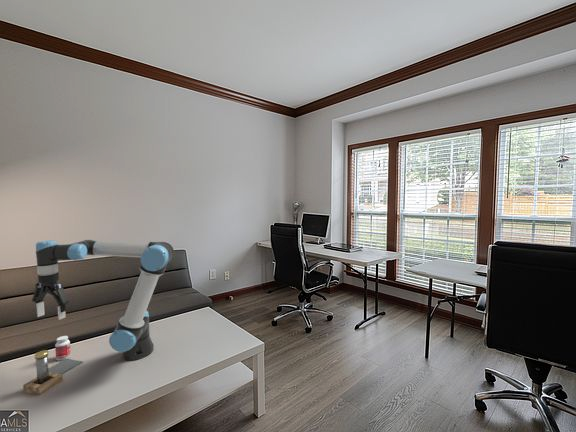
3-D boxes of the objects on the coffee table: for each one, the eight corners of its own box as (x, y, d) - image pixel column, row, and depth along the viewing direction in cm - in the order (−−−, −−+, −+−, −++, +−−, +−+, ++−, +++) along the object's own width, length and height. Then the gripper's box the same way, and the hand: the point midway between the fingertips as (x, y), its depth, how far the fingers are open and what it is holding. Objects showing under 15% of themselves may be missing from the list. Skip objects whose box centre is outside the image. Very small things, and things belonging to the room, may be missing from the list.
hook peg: (53, 383, 126) (50, 350, 125) (41, 390, 122) (39, 356, 121) (45, 382, 127) (43, 349, 126) (34, 388, 123) (31, 355, 122)
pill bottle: (70, 358, 146) (68, 338, 146) (55, 362, 143) (53, 341, 142) (71, 353, 151) (70, 333, 151) (57, 356, 148) (55, 337, 147)
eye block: (62, 380, 128) (62, 374, 128) (39, 395, 119) (39, 388, 119) (47, 377, 130) (47, 371, 130) (23, 391, 121) (23, 385, 121)
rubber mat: (82, 362, 143) (82, 361, 142) (60, 375, 132) (60, 374, 132) (66, 359, 145) (66, 358, 145) (43, 372, 135) (43, 371, 135)
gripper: (76, 272, 130) (79, 316, 131) (38, 270, 137) (41, 311, 138) (59, 277, 123) (62, 323, 124) (20, 274, 129) (23, 317, 131)
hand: (51, 317), depth 131 cm, fingers open, 13 cm apart
